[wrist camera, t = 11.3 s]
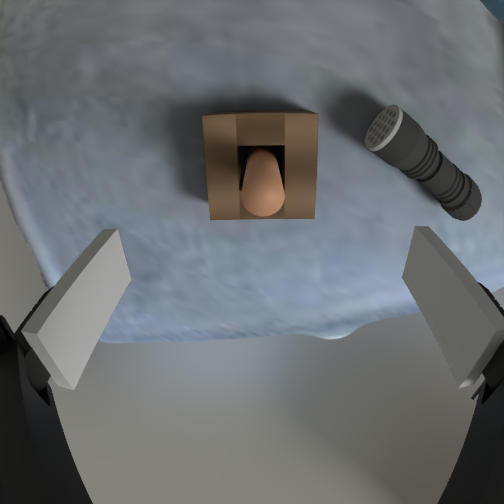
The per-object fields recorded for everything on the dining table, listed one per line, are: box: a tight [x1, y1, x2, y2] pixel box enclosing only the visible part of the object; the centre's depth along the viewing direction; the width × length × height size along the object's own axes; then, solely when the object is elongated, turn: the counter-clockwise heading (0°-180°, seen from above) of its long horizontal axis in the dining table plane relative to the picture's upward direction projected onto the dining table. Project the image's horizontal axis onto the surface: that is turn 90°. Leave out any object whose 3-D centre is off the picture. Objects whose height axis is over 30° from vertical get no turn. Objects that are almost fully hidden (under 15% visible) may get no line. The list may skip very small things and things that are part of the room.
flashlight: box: [365, 105, 482, 221], centre depth 27 cm, size 15×5×5 cm, turn 62°
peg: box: [241, 145, 285, 216], centre depth 24 cm, size 3×3×12 cm
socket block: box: [202, 111, 318, 220], centre depth 28 cm, size 10×10×4 cm
